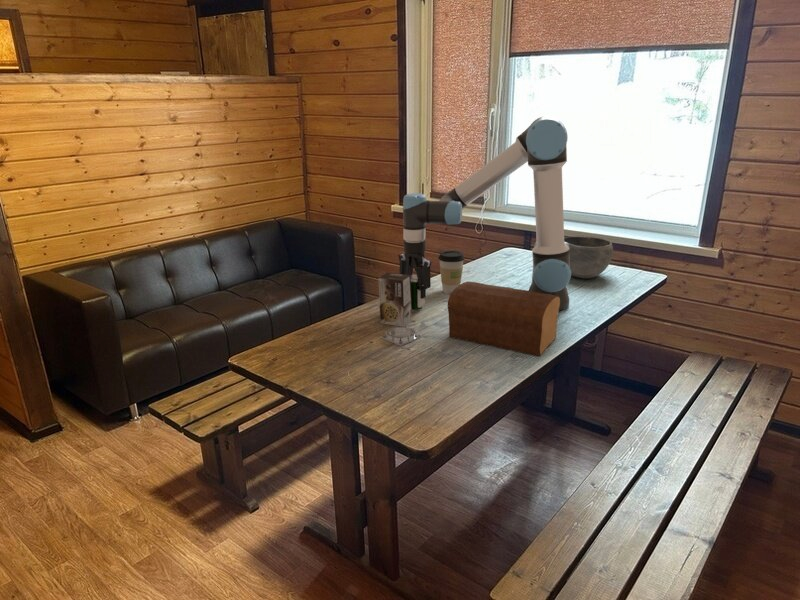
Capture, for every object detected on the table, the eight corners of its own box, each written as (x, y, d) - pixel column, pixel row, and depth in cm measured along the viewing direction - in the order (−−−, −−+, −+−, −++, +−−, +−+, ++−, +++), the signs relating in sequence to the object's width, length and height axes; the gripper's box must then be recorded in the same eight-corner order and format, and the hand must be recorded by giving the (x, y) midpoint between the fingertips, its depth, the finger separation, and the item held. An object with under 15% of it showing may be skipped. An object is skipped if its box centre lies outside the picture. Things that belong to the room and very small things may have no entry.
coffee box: (412, 320, 195) (411, 274, 189) (404, 327, 189) (403, 280, 184) (387, 316, 199) (386, 271, 193) (379, 323, 193) (377, 277, 188)
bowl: (617, 284, 228) (621, 246, 222) (563, 284, 228) (566, 247, 223) (600, 268, 247) (604, 233, 242) (550, 268, 248) (553, 234, 242)
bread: (539, 359, 166) (543, 306, 161) (445, 339, 181) (446, 290, 175) (558, 337, 181) (562, 288, 175) (470, 319, 195) (471, 274, 190)
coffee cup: (464, 295, 217) (465, 257, 212) (438, 295, 218) (438, 257, 212) (462, 287, 227) (463, 249, 221) (437, 287, 227) (437, 250, 222)
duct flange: (421, 337, 182) (421, 332, 181) (400, 346, 176) (400, 340, 175) (400, 329, 188) (400, 324, 187) (379, 337, 182) (379, 332, 181)
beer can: (405, 311, 203) (405, 278, 199) (409, 305, 208) (409, 273, 204) (420, 312, 202) (420, 279, 198) (424, 307, 207) (424, 275, 203)
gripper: (442, 242, 193) (441, 307, 201) (403, 233, 205) (404, 295, 213) (426, 246, 188) (426, 313, 196) (387, 237, 200) (389, 300, 208)
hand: (414, 304), depth 204 cm, fingers closed on beer can, 5 cm apart
